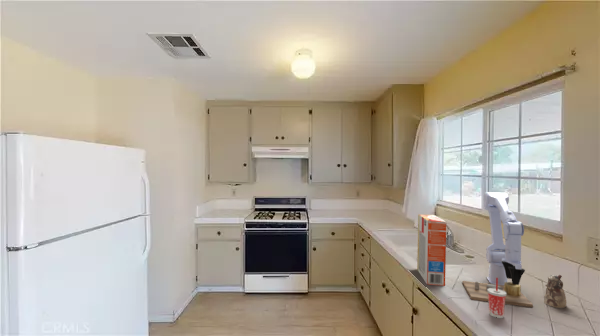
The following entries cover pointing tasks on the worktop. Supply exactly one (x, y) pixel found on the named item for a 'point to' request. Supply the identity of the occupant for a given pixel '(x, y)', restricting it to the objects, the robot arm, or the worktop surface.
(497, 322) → the worktop surface
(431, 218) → the orange cereal box
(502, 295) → the beverage cup
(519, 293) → the brass gear
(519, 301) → the carrier plate
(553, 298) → the figurine
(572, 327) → the worktop surface
